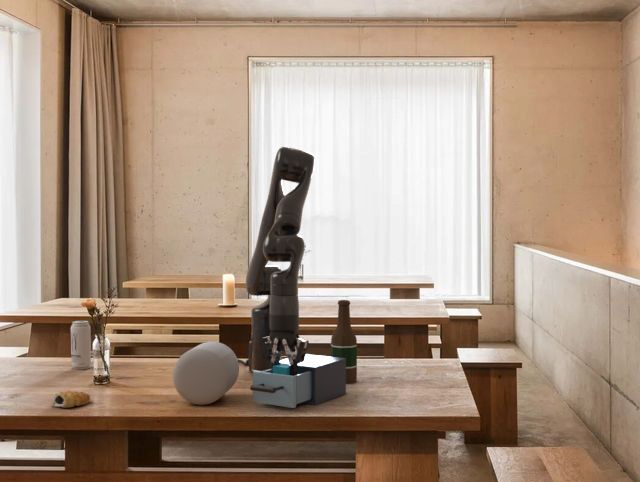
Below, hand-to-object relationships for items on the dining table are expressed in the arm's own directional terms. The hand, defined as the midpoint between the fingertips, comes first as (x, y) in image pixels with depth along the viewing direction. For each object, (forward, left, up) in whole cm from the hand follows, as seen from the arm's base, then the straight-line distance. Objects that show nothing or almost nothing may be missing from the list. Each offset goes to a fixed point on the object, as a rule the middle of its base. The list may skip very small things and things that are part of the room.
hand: (284, 377), depth 214 cm
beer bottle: (-2, +34, -7) cm, 35 cm away
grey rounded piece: (-24, -3, -7) cm, 25 cm away
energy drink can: (-84, +8, -7) cm, 85 cm away
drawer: (0, 0, -6) cm, 6 cm away
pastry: (-47, -29, -7) cm, 56 cm away
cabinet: (0, +12, -7) cm, 14 cm away
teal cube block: (0, 0, -1) cm, 1 cm away
